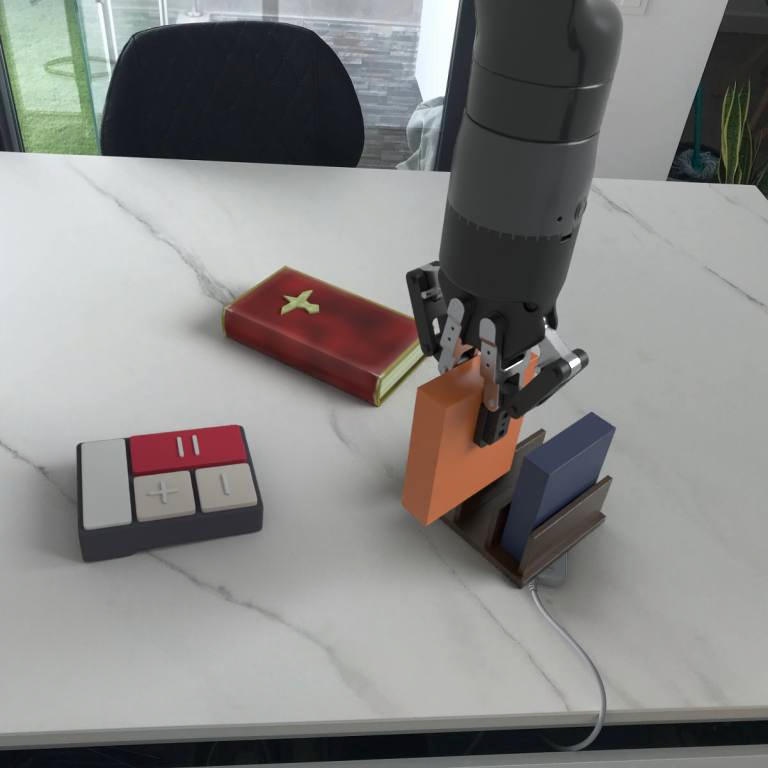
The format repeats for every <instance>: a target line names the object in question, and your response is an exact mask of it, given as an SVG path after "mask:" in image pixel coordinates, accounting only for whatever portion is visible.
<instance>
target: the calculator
mask: <svg viewBox="0 0 768 768" xmlns="http://www.w3.org/2000/svg"><path fill="white" fill-rule="evenodd" d="M75 448H76V450H75V453H76V455H75V456H76V457H75V458H76V459H75V460H76V504H77V505H76V506H77V507H76V509H77V535H78V540H79V546H80V552H81V557H82V560H83V562H85V563H93V562H99V561H105V560H111V559H117V558H124V557H125V558H126V557H130V556H132V555H134V554H135V553H137V552H139V551H141V550H145V549H152V548H153V549H154V548H159V547H165V546H171V545H178V544H185V543H190V542H191V543H192V542H197V541H203V540H211V539H215V538H223V537H230V536H234V535H235V536H236V535H243V534H248V533H255V532H260V531H262V529H263V526H264V503H263V502H264V501H263V497H262V494H261V490H260V486H259V482H258V479H257V476H256V472H255V471H256V470H255V467H254V463H253V460H252V455H251V452H250V447H249V444H248V439H247V435H246V432H245V429H244V426H242V425H240V424H227V425H217V426H209V427H199V428H190V429H182V430H172V431H164V432H163V431H162V432H155V433H145V434H136V435H130V437H129V436H128V437H119V438H112V439H103V440H93V441H84V442H79V443H77V445H76V447H75Z"/></svg>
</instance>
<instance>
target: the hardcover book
mask: <svg viewBox="0 0 768 768" xmlns="http://www.w3.org/2000/svg"><path fill="white" fill-rule="evenodd" d="M433 327H434V329H435V328H436V326H435V325H433ZM221 328H222V333H223V335H224V337H227V338H229V339H231V340H233V341H235V342H238V343H239V344H242V345H244V346H246V347H248V348H251V349H253V350H255V351H257V352H259V353H262V354H263V355H265V356H268V357H270V358H272V359H274V360H276V361H279V362H280V363H282V364H285V365H287V366H289V367H291V368H294V369H297V370H298V371H300V372H303V373H305V374H307V375H309V376H311V377H312V378H315V379H318V380H320V381H322V382H324V383H326V384H329V385H331V386H333V387H335V388H336V389H339V390H341V391H343V392H345V393H348V394H350V395H352V396H355V397H357V398H358V399H361V400H362V401H365V402H367V403H370V404H372V405H374V406H375V407H378V408H379V407H380V406H381V405H382V404H383V403H384V402H385V401H386V400H387V399H388V398H389V397H391V395H393V393H394V392H395V391H397V389H398V388H399V387H400V386H401V385H402V384H403V383H404V382H405V381H406V380H407V379H408V378H409V377H410V376H411V375H412V374H413V372H415V371H416V369H418V368H419V367H420V366H421V365H422V363H424V361H426V360H427V358H428V357H427V356H425V355H424V354H423V352H422V350H421V347H420V342H419V337H418V333H417V328H416V324H415V319H414V316H411V315H408V314H406V313H403V312H401V311H398V310H396V309H394V308H391V307H389V306H386V305H383V304H381V303H379V302H376V301H374V300H372V299H369V298H367V297H364V296H362V295H359V294H357V293H354V292H352V291H349V290H347V289H344V288H342V287H339V286H336V285H335V284H332V283H329V282H327V281H324V280H323V279H320V278H317V277H314V276H313V275H310V274H308V273H305V272H302V271H300V270H298V269H295V268H292V267H291V266H288V265H284V266H282V267H281V268H279V269H278V270H276V271H275V272H273V273H271V274H270V275H269V276H268V277H266V278H265V279H263V280H262V281H261V282H258V283H257V284H256V285H254V286H253V287H251V288H250V289H247V291H245V292H244V293H242V294H241V295H239V296H237V298H235V299H234V300H232V301H231V302H229V303H228V304H226V305H225V306H223V307H222V310H221Z"/></svg>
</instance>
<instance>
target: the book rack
mask: <svg viewBox="0 0 768 768" xmlns="http://www.w3.org/2000/svg"><path fill="white" fill-rule="evenodd" d="M546 435H547V430H546V429H544V428H543V427H541V428H540V429H538V430H536V431H535V432H534V433H531V434H530V435H528V436H527V437H526V438H524V439H523V440H521V441H520V442H517V444H516V448H515V452H514V456H513V460H512V464H511V468H510V470H509V471H508V472H506V473H505V474H503V475H502V476H500V477H499V478H497V479H496V480H494V481H493V482H491V483H490V484H488V485H487V486H485V487H484V488H482V489H481V490H479V491H478V492H477V493H475V494H474V495H472V496H471V497H469V498H468V499H466V500H465V501H463V502H462V503H460V504H459V505H457V506H456V507H454V508H453V509H451V510H450V511H448V512H447V513H445V514H444V515H442V516H441V517H439V518H438V519H440V520H441V521H442V522H443V523H445V524H446V526H448V527H449V528H451V530H453V531H454V532H455V533H456V534H457V536H459V537H460V538H462V539H463V540H464V541H465V542H466V543H468V544H469V545H470V546H471V548H473V549H474V550H476V551H477V552H478V553H479V554H480V555H482V556H483V558H485V559H486V560H487V561H488V562H489V563H491V564H492V565H493V566H494V567H495V568H496V569H498V570H499V572H501V573H502V574H503V575H504V576H505V577H507V578H508V580H510V581H511V582H512V583H513V584H515V586H517V587H518V588H519V589H521V590H522V589H524V587H526V586H527V585H528V584H530V583H531V582H532V581H533V580H534V579H536V578H537V577H538V576H540V575H541V574H542V573H543V572H544V571H546V570H547V569H548V568H549V567H551V566H552V565H553V564H554V563H556V562H557V561H558V560H559V559H561V558H562V557H563V556H564V555H565V554H566V553H568V552H569V551H570V550H572V549H573V548H574V547H575V546H577V545H578V544H579V543H580V542H581V541H582V540H584V539H585V538H586V537H588V536H589V535H590V534H591V533H592V532H594V531H595V530H596V529H598V528H599V527H600V526H602V524H604V523H605V521H606V519H607V515H606V514H604V513H603V512H601V511H602V508H603V506H604V503H605V500H606V498H607V495H608V493H609V491H610V487H611V485H612V483H613V480H614V478H613V477H612V476H610V475H609V474H607V475H606V476H604V477H603V478H601V479H600V480H599V481H597V482H596V484H595V485H594V486H592V487H591V488H590V489H588V490H587V491H586V492H584V493H583V494H582V495H581V496H579V497H578V498H577V499H575V500H574V501H573V502H571V503H570V504H569V505H567V506H566V507H565V508H563V509H562V510H561V511H559V512H558V513H557V514H555V515H554V516H553V517H551V518H550V519H549V520H547V521H546V522H545V523H544V524H542V525H541V526H540V527H538V528H537V529H536V530H534V531H533V532H532V533H530V534H529V536H528V539H527V542H526V546H525V549H524V552H523V556H522V559H521V562H520V561H518V560H517V559H516V558H515V557H514V556H512V555H511V554H510V553H509V552H508V551H507V550H505V549H504V548H503V547H502V546H501V545H500V543H501V539H502V535H503V532H504V528H505V524H506V521H507V517H508V513H509V510H510V506H511V502H512V499H513V495H514V491H515V488H516V484H517V480H518V477H519V473H520V469H521V465H522V462H523V458H524V456H526V455H527V454H529V453H530V452H532V451H533V450H535V449H536V448H538V447H539V446H541V445H542V444H544V443H545V442H544V441H545V437H546Z"/></svg>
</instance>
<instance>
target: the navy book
mask: <svg viewBox="0 0 768 768" xmlns="http://www.w3.org/2000/svg"><path fill="white" fill-rule="evenodd" d="M616 430H617V426H614V425H613V424H611V423H610V422H608V421H607V420H605V419H604V418H602V417H601V416H600V415H598V414H597V413H595V412H593V411H590V412H589V413H587V414H586V415H584V416H583V417H581V418H580V419H578V420H576V421H575V422H574V423H572V424H570V425H569V426H567V427H566V428H564V429H563V430H561V431H560V432H558V433H557V434H555V435H554V436H552V437H551V438H550V439H548V440H547V441H545V442H543V444H542V445H541V446H539V447H538V448H536V449H535V450H533V451H532V452H530V453H529V454H527V455H526V456H524V458H523V462H522V465H521V469H520V473H519V477H518V480H517V484H516V488H515V491H514V495H513V499H512V502H511V506H510V510H509V513H508V517H507V521H506V524H505V528H504V532H503V535H502V539H501V543H500V545H501V546H502V547H503V548H504V549H505V550H507V551H508V552H509V553H510V554H511V555H512V556H514V557H515V558H516V559H517V560H518V561H520V562H521V559H522V556H523V552H524V549H525V546H526V542H527V539H528V536H529V534H530V533H532V532H533V531H534V530H536V529H537V528H538V527H540V526H541V525H542V524H544V523H545V522H546V521H547V520H549V519H550V518H551V517H553V516H554V515H555V514H557V513H558V512H559V511H561V510H562V509H563V508H565V507H566V506H567V505H569V504H570V503H571V502H573V501H574V500H575V499H577V498H578V497H579V496H581V495H582V494H583V493H584V492H586V491H587V490H588V489H590V488H591V487H592V486H594V485H595V484H596V483H598V479H599V476H600V475H601V471H602V469H603V466H604V463H605V460H606V457H607V455H608V452H609V449H610V446H611V444H612V441H613V438H614V436H615V433H616Z"/></svg>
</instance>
